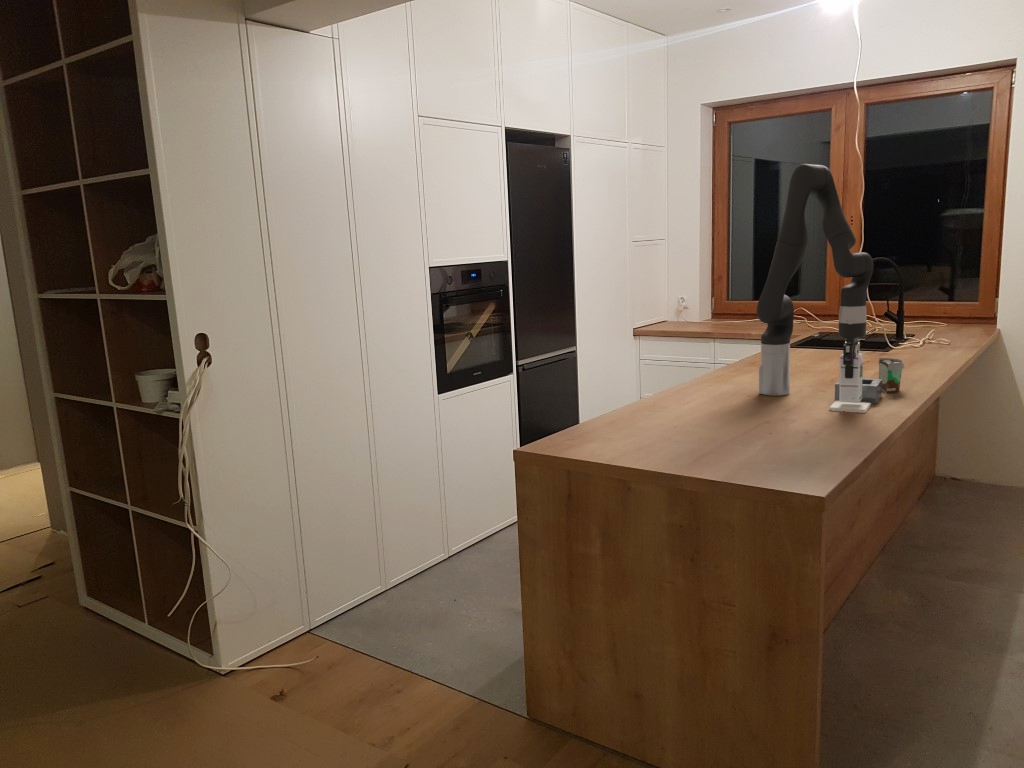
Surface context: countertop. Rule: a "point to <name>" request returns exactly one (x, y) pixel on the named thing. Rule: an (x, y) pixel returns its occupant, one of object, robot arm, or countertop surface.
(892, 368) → the food container
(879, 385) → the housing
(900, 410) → the countertop surface
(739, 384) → the countertop surface
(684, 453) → the countertop surface
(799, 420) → the countertop surface
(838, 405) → the pad
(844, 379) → the syrup box
